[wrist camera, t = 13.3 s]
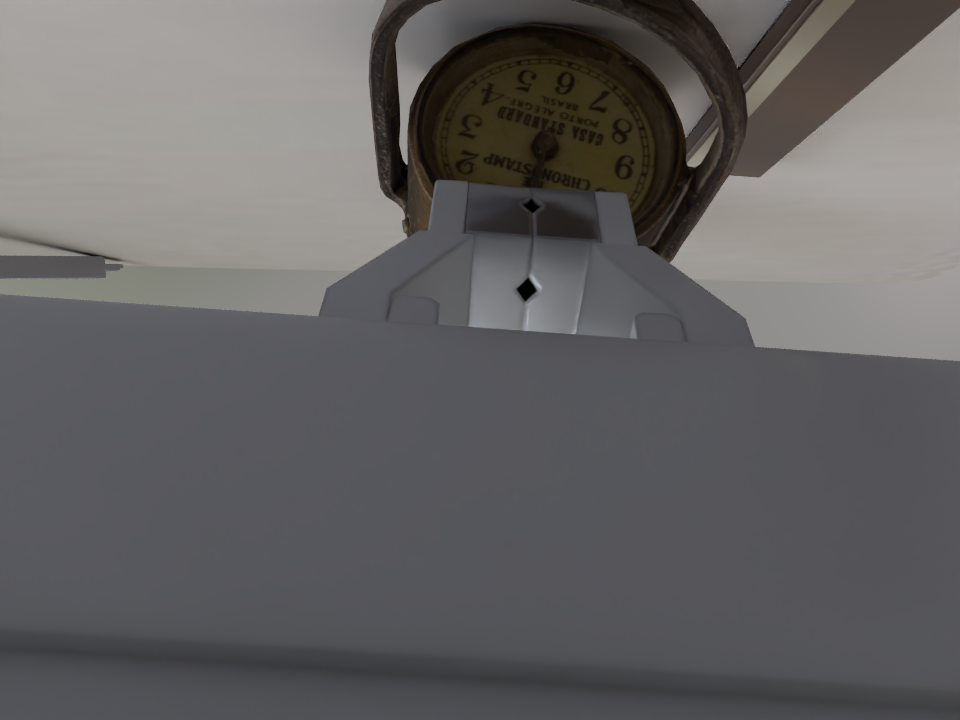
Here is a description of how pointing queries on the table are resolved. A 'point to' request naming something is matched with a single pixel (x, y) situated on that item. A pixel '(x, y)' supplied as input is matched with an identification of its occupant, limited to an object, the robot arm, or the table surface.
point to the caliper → (54, 267)
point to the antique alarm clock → (559, 116)
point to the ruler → (816, 71)
